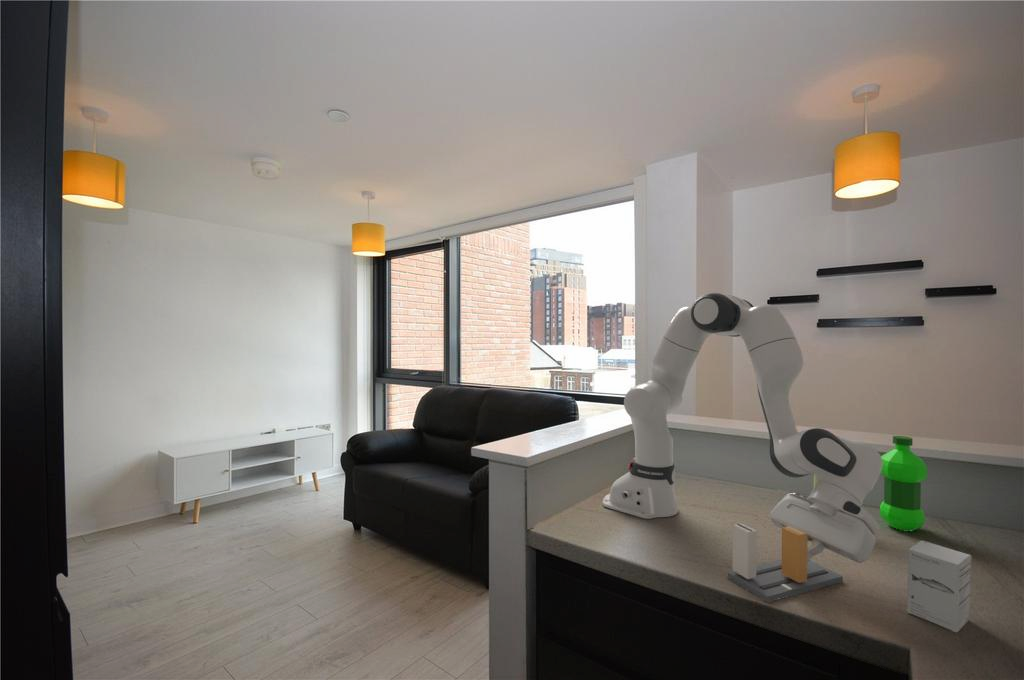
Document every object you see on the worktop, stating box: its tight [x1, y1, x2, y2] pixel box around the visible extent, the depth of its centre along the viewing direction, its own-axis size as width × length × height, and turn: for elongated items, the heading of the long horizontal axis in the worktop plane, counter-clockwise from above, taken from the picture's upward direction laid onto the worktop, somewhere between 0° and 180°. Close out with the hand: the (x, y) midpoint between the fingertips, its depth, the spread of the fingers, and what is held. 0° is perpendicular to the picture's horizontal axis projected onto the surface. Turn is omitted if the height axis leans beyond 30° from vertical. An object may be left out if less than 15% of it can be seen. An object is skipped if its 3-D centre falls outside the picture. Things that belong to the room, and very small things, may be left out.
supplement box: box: [906, 540, 972, 633], centre depth 87 cm, size 7×7×13 cm
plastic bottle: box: [879, 435, 928, 532], centre depth 126 cm, size 10×10×25 cm
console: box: [727, 558, 844, 603], centre depth 100 cm, size 22×10×1 cm, turn 110°
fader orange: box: [781, 526, 808, 583], centre depth 97 cm, size 2×4×10 cm, turn 20°
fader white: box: [732, 523, 758, 579], centre depth 99 cm, size 2×4×10 cm, turn 20°
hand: (800, 556), depth 98 cm, fingers closed, pressing on fader orange
